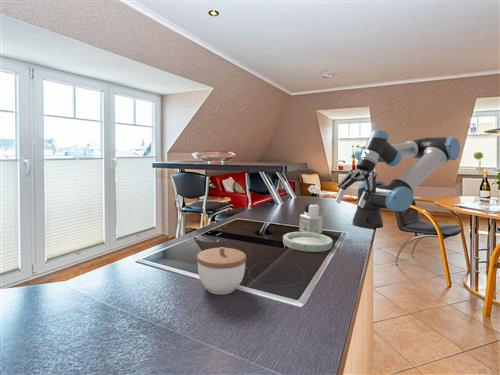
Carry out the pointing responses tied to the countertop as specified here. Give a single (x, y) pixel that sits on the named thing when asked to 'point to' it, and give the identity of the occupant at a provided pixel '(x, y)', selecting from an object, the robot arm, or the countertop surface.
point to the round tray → (307, 241)
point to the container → (311, 219)
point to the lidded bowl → (221, 269)
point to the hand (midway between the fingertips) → (348, 204)
